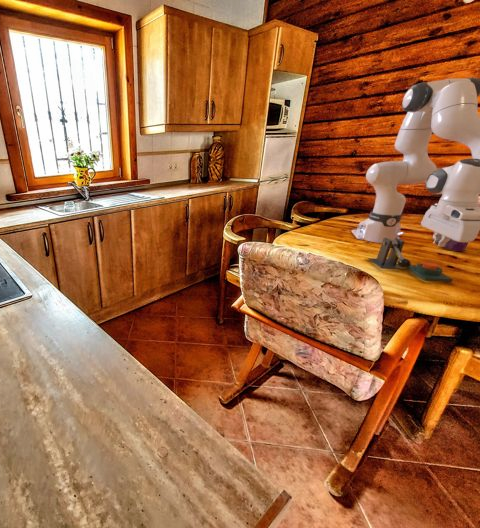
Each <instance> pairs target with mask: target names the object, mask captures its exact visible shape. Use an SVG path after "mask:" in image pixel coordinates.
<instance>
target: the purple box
mask: <svg viewBox="0 0 480 528" xmlns="http://www.w3.org/2000/svg"><path fill="white" fill-rule="evenodd" d="M468 244H469V242H457V241H455V240H453V239H451V240H449V241H448V242H446V244H445V246H444V247H443V249H445V250H447V251H451V252H462V251H463V252H464V251H465V250H466V248H467V247H468Z"/></svg>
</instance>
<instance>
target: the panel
mask: <svg viewBox="0 0 480 528" xmlns="http://www.w3.org/2000/svg"><path fill="white" fill-rule="evenodd" d="M422 265H423V263H417V264H411V265H410V266H409V267H407V268H405V270H407V271H408V272H410V273H412V274H413V275H415V276H416V277H418V279H419V278H420V279H421V280H422V281H424V282H438V283H452V281H453V279H454V278H452V277H450V276H448V275H446V274H445V273H443V268H442V267H440V266H438V267H437V270H431V269H426V268H423V267H422Z"/></svg>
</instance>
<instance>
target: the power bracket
mask: <svg viewBox="0 0 480 528" xmlns="http://www.w3.org/2000/svg"><path fill="white" fill-rule="evenodd" d="M399 238H400V237H399ZM399 238H395V239H396V240H397V242H398V246H397V247H398V249H399V251H400V252H401V253H402V251H403V248H404V246H405V240H403V239H401V238H400V239H399ZM392 242H393V241H391V240H389V239H388V238H384V239H383V242H382V243H380V244H381V245H380V248H379V250H378V254H377V256H376V258H374V257H373V258H369V257H368V260H369V261H370V262H372V263H373V264H374V265H376V266H377V267H378V268H380V269H388V270H389V269H391V270H405V268H401V267H399V266H398V261H399V259H398V257H397V255H396V253H395V252H394V250H393V248H390V247H391V245H392Z"/></svg>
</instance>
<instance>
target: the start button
mask: <svg viewBox="0 0 480 528" xmlns="http://www.w3.org/2000/svg"><path fill="white" fill-rule="evenodd" d="M422 264H423V265H422V267H423V268H426V269H431V270H437V267H439V264H437V263H435V262H432V261H431V262H430V261H424V262H423V263H422Z"/></svg>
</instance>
